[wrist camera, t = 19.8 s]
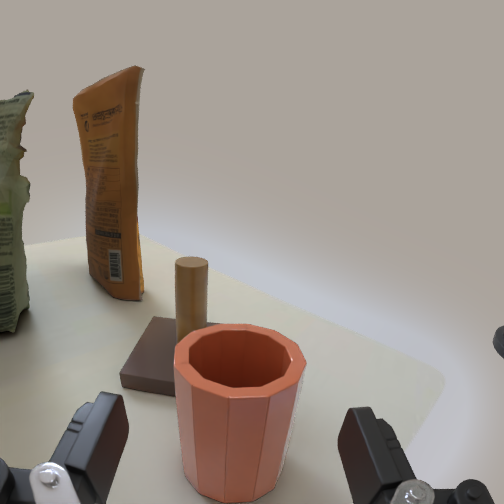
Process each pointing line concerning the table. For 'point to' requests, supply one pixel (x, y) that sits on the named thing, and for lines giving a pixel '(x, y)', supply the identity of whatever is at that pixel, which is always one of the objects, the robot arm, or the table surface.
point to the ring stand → (169, 331)
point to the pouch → (12, 211)
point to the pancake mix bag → (112, 180)
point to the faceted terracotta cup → (236, 408)
